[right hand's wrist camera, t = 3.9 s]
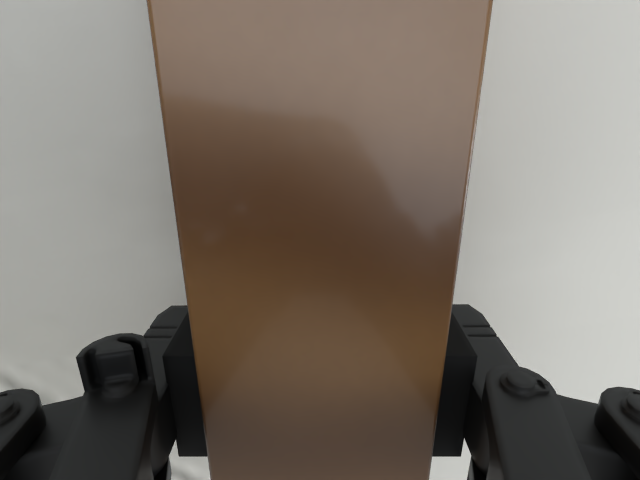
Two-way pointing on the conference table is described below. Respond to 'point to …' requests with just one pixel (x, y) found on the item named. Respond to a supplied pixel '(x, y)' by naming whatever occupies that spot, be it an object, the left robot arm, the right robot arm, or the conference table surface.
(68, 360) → the conference table surface
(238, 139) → the post
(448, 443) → the right robot arm
